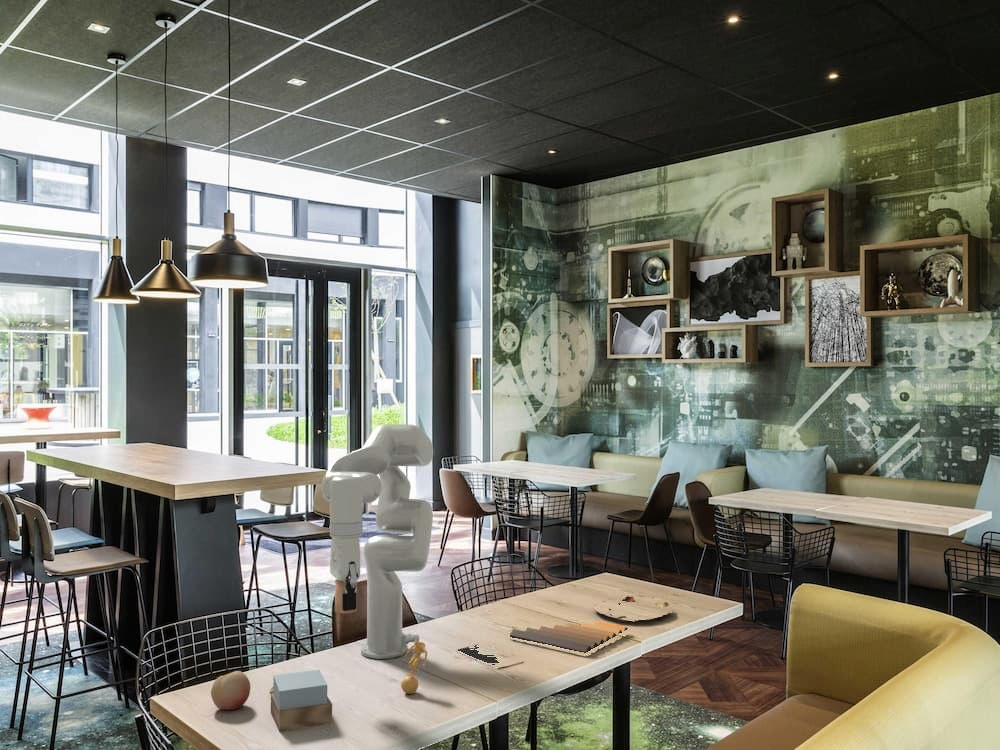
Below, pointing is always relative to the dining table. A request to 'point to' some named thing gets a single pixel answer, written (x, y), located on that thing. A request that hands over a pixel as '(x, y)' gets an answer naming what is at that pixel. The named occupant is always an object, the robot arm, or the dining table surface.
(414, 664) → the figurine
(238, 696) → the fruit
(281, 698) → the top block
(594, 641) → the pan flute
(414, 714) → the dining table surface
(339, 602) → the terracotta cylinder
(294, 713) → the bottom block
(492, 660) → the cell phone
